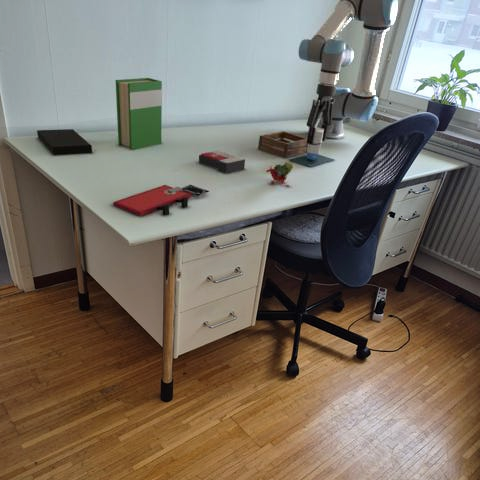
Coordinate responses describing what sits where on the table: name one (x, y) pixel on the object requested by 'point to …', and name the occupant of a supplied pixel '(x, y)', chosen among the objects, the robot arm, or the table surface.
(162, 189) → the red board with handle
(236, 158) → the calculator
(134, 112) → the hardback book
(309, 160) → the mat
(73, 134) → the external hard drive
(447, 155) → the table surface
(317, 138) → the ink box
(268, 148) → the crate
